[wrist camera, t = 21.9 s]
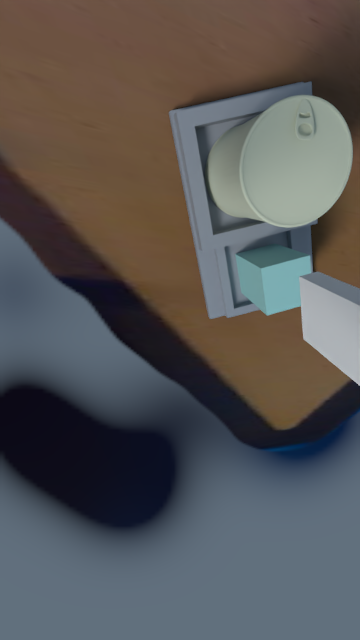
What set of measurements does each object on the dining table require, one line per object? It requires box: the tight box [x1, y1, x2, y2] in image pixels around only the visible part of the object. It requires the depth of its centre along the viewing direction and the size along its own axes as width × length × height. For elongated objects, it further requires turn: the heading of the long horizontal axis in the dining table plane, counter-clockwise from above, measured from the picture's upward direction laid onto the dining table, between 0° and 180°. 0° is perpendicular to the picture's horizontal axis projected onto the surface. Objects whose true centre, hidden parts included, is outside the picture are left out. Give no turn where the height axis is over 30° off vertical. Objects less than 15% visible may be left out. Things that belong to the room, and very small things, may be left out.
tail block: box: [235, 244, 311, 315], centre depth 35 cm, size 5×5×8 cm
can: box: [205, 95, 353, 228], centre depth 29 cm, size 9×9×12 cm
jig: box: [169, 81, 318, 319], centre depth 36 cm, size 23×14×3 cm, turn 12°
